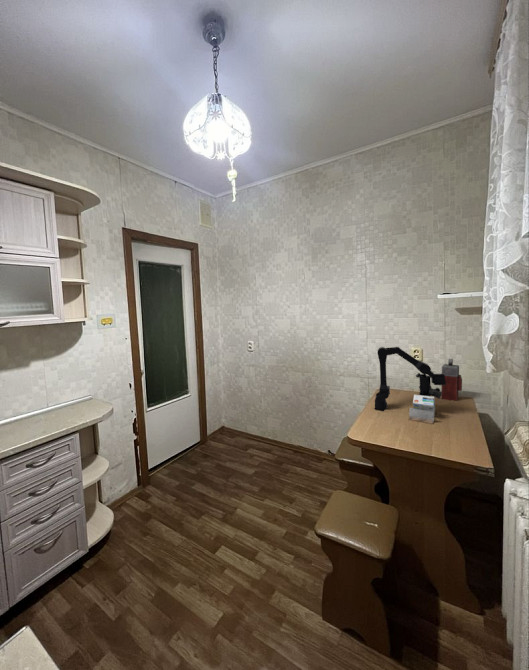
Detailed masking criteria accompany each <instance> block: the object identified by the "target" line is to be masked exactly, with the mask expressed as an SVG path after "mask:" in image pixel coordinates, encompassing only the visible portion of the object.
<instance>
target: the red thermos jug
mask: <svg viewBox="0 0 529 670" xmlns="http://www.w3.org/2000/svg"><path fill="white" fill-rule="evenodd" d="M447 360H448V361H447V362H448V363H445V364H443V365H441V374H444V375H445V380H446V384H445V385H441V389H440V392H442V394H441V397H440V399H441V400H446V401H447V400H448V401H452V400H453V402H458V400H459V392H462V391H463V378H462V375H461V374H460V366H459V365H458V364H454V358H448V359H447Z"/></svg>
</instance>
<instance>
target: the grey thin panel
mask: <svg viewBox="0 0 529 670" xmlns="http://www.w3.org/2000/svg"><path fill="white" fill-rule="evenodd" d="M408 409H409V411H408V413H409V418H415V419H421V420H427V421H433V422H434V423H435V414H434V411H428V410H421V409H415V408H413V407H409V408H408ZM409 418H408V419H409Z"/></svg>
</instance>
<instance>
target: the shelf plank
mask: <svg viewBox="0 0 529 670" xmlns="http://www.w3.org/2000/svg"><path fill="white" fill-rule="evenodd" d="M408 421H412V422H419V423H424V424H429V425H430V424H431V425H434V423H435V421H434V422H433V421H427V420H421V419H415V418H408Z"/></svg>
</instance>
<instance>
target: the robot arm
mask: <svg viewBox="0 0 529 670" xmlns="http://www.w3.org/2000/svg"><path fill="white" fill-rule="evenodd" d="M392 355H398V356H400V358H402V359H404V360H405V361H407V362H408V363H410V364H412V366H414V367H415V368H416V369H417V370H418V371H419V372H417V374H416V375H415V377H416V378H419V387H418V388H419V393H418V395H422V396H432V397H434V398H437V399H439V400H440V399H441V394H442V392H441V389H440V388H439V387H436V388H432V385H431V384H433V385H434V386H442V385H445V384H446V380H445V375H444V374H442V373H434V372H433V371H432V369H431V366H430V365H429V364H428V363H426V362H424V361H421V360H419V359H417V358H415V357H413V356H412V355H410V354H409V353H407V351H405V350H403V349H402V348H401V347H400V346H394V347H393V346H392V347H385V346H380V347H379V348H378V349H377V357H378V360H379V361H378V362H379V373H380V374H379V379H380V385H379V390H378V392H377V393H376V394H375V399H374V407H373V410H374V409H375V411H380V412H385V410H387V409H388V402H387V399H388V398H389V397H390V395H391V392H390V389H391V388H390V387H391V386H390V385H388V383H387V358H388V356H392ZM427 399H428V398H427Z"/></svg>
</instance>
